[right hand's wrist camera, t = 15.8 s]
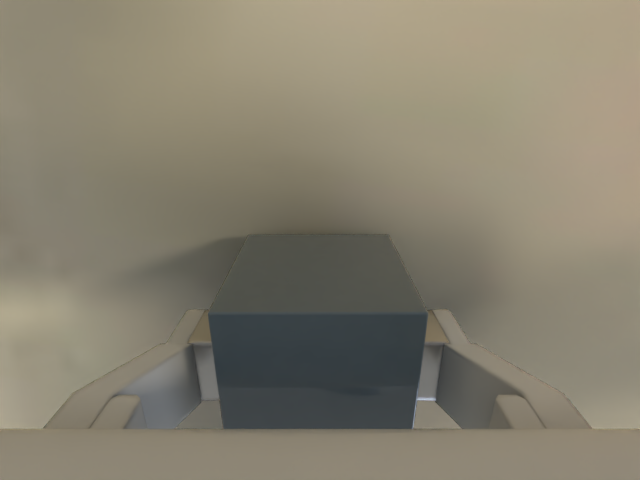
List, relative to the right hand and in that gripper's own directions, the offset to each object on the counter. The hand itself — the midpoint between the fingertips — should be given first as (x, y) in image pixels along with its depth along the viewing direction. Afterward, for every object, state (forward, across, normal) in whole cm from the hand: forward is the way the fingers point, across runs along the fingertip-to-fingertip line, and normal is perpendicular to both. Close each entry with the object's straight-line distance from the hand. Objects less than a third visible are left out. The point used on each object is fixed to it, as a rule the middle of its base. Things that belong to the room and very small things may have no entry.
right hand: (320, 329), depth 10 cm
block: (+2, 0, 0) cm, 2 cm away
